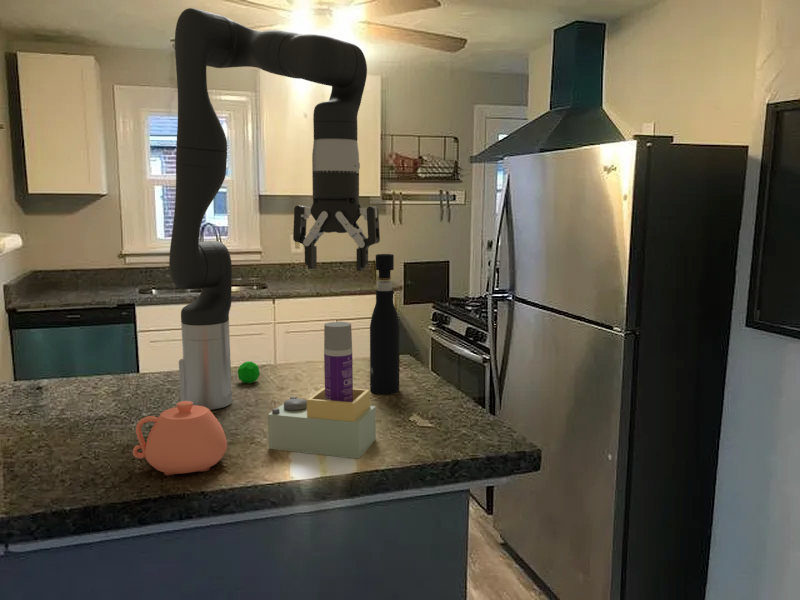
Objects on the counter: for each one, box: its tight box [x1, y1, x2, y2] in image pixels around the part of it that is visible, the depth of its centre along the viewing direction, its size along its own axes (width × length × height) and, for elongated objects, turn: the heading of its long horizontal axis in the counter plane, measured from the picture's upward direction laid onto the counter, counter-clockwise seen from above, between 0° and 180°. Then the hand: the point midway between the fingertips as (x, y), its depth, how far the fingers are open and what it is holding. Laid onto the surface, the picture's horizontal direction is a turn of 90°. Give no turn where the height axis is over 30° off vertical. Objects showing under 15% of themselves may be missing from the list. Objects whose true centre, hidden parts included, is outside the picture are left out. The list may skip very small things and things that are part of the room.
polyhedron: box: [237, 361, 261, 384], centre depth 149 cm, size 5×5×5 cm
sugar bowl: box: [132, 400, 228, 476], centre depth 101 cm, size 12×14×10 cm
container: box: [323, 321, 354, 402], centre depth 109 cm, size 5×5×15 cm
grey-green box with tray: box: [267, 386, 377, 459], centre depth 111 cm, size 16×9×9 cm, turn 75°
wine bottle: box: [369, 253, 400, 396], centre depth 141 cm, size 6×6×30 cm
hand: (336, 269), depth 107 cm, fingers open, 8 cm apart
